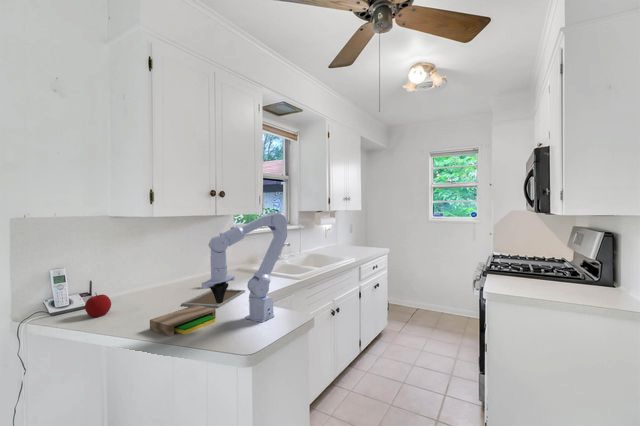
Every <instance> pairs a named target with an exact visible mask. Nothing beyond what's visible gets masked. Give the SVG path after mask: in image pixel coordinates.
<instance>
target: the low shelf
mask: <svg viewBox="0 0 640 426" xmlns="http://www.w3.org/2000/svg"><path fill="white" fill-rule="evenodd" d="M216 309H217V308H209V307H204V306H200V305H194V306H187V307H186V308H182V309H177V310H176V311H173V312H172V311H171V312H170V313H166V314H164V315H160V316H158V317H154V318H152V319H149V331H151V332H155V333H158V334H160V335H164V336H168V337H171V336H174V335H175V332H174V326H176V325H179V324H182V323H184V322H187V321H190V320H192V319H195V318H198V317H200V316H203V315H209V316H214V317H215V319H216V318H217V317H216V313H217V312H216Z"/></svg>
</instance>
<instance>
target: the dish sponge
mask: <svg viewBox="0 0 640 426" xmlns="http://www.w3.org/2000/svg"><path fill="white" fill-rule="evenodd" d="M214 323H216V318H215V317H214V316H209V315H203V316H200V317H198V318H195V319H192V320H190V321H187V322H184V323H182V324H179V325H176V326H174V333H177V332H178V334H182V335H187V334H190V333H192V332H194V330H195V331H198V330H200V329H201V328H204V327H206V326H209V325H212V324H214ZM189 332H190V333H189Z"/></svg>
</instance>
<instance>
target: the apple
mask: <svg viewBox="0 0 640 426" xmlns="http://www.w3.org/2000/svg"><path fill="white" fill-rule="evenodd" d="M94 294H95V295H94V296H91V297H89V298H88V299H87V300H86V302H85V305H84V309H85V313H87V315H88V316H90V317H92V318H93V317H94V318H99V317H102V316H105V315H106V314H107V313H108V312H110V310H111V308H112V300H111V299H110V297H109V296H108V295H107V294H104V293H103V294H102V293H101V294H98V295H97V292H95V293H94Z"/></svg>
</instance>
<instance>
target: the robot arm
mask: <svg viewBox="0 0 640 426" xmlns="http://www.w3.org/2000/svg"><path fill="white" fill-rule="evenodd" d="M288 223H289V221H288V219H287V217H286V215H285V214H284V213H283V212H280V211H279V212H268V213H267V214H264V215H261V216H259V217H258V218H256V219H254V220H252V221H250V222H249V223H246V224H245V225H243V226H242V227H241V226H233V225H232V226H231V227H230V229H229V230H226V231H225V232H220V233H219V234H218V235H217V236H213V237H211V238H210V240H209V243H208V248H209V249H210V256H209V257H210V258H209V259H210V279H208V280H206V281H204V282H201V289H208V288H209V289H210V290H212V292H213V294H214V297H215V300H216V303H219V304H220V303H223V298H224V295H225V292H226V289H228V288H229V283H226V282H232V281H235V280H236V279H235V275H234V274H231V275H230V274H229V275H228V269H227V270H226V265H227V254H226V253H227V252H226V251H227V249H228V247H231V246H232V245H235V244H236V243H238V242H240V241H242V240H244V238H245V235H247V234H249V233H251V232H253V231H255V230H257V229H259V228H260V229H261V228H262V227H268V228H269V229H270V230H271V233H272V234H273V237H272V240H271V242H270V243H269V246H268V249H267V250H266V252H265V255H264V257H263V259H262V262H261V264H260V265H259V268H258V269H257V271H256V272H255V273H254V274H253V276H252V277H251V278H250V279H249V280H248V281H247V285H246V286H247V289H248V291H250V293H249V295H248V302H249V303H248V304H249V305H248V307H249V308H248V309H249V315H247V316H244V319H247V320H251V321H255V322H260V323H264V322H265V321H268V320H270V319H271V318H274V317H275V316H276V315H275V314H274V300H273V298H272V297H270V296H268V293H269V291H270V283H271V274H272V272H273V269H274V268H275V265H276V263H277V260H278V258H279V256H280V253H281V252H282V249H283V247H284V245H285V243H286V241H287V238H288Z"/></svg>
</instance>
